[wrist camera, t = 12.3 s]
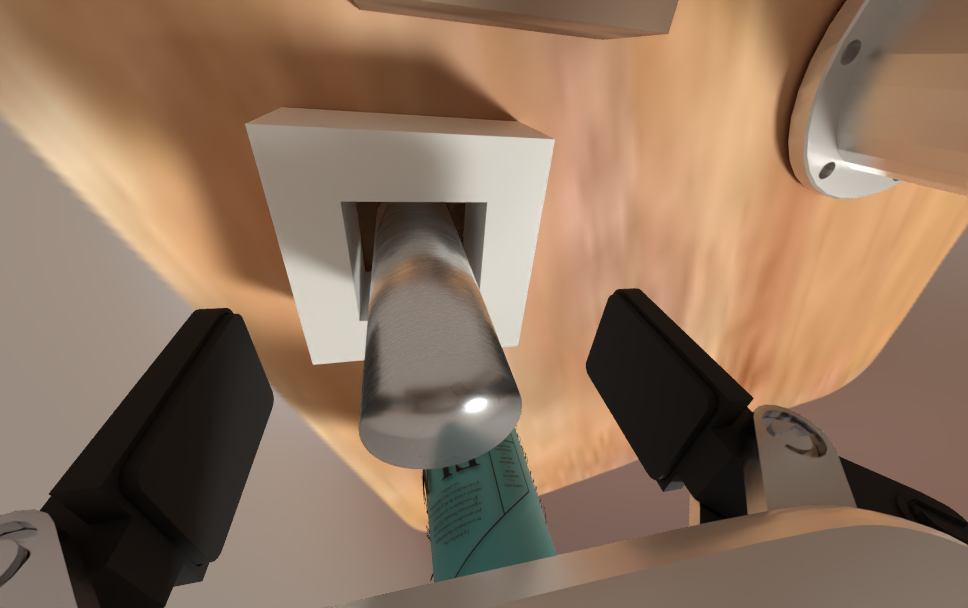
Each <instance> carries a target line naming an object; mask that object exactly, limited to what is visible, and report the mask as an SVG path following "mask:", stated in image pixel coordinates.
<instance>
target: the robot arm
mask: <svg viewBox="0 0 968 608" xmlns="http://www.w3.org/2000/svg"><path fill="white" fill-rule="evenodd" d="M788 146H789V158H790V163H791V166H792V169H793V172H794V174H795V177H796V178H797V179H798V180H799V181H800V183H801V184H802V185H803V186H804V187H805V188H807V189H809V190H811V191H813V192H815V193H818V194H821V195H825V196H828V197H832V198H835V199H856V198H860V197H865V196H870V195H872V194H875V193H878V192H880V191H883V190H885V189H888V188H890V187H893V186H895V185H896V184H898V183H900V182H902V181H905V182H910V183H914V184H918V185H922V186H926V187H931V188H935V189H939V190H943V191H947V192H952V193H956V194H960V195H964V196H968V0H846V1H845V3H844V4H843V6H842V7H841V9H840V10H839V12H838V13H837V15H836V16H835V18H834V19H833V21H832V22H831V24H830V25H829V27H828V29H827V31H826V33H825V35H824V37H823V38H822V40H821V42H820V44H819V46H818V48H817V50H816V51H815V53H814V55H813V57H812V59H811V61H810V64H809V66H808V68H807V71H806V73H805V76H804V78H803V81H802V83H801V86H800V88H799V91H798V94H797V98H796V101H795V105H794V109H793V112H792V116H791V122H790V131H789V139H788ZM586 370H587V373H588V375H589V377H590V379H591V380H592V382H593V384H594V385H595V387H596V389H597V390H598V392H599V394H600V395H601V397H602V399H603V400H604V402H605V404H606V405H607V407H608V409H609V410H610V412H611V414H612V415H613V417H614V419H615V420H616V422H617V424H618V425H619V427H620V429H621V430H622V432H623V434H624V435H625V437H626V439H627V440H628V442H629V444H630V445H631V447H632V449H633V450H634V452H635V454H636V455H637V457H638V459H639V460H640V462H641V464H642V465H643V467H644V469H645V470H646V472H647V473H648V475H649V476H650V477H651V478H652V479H654V480H656V481H657V482H658V484H659V486H660V487H661V489H662V491H663V492H665V491H671V490H675V489H681V488H682V487H683V486H684V485H685V486H686V487H687V489H688V490H689V492H690V520H689V527H685V528H681V529H676V530H671V531H667V532H662V533H658V534H653V535H648V536H644V537H639V538H635V539H630V540H626V541H621V542H616V543H611V544H607V545H602V546H598V547H593V548H589V549H584V550H580V551H575V552H571V553H566V554H561V555H557V556H552V557H548V558H543V559H539V560H534V561H530V562H525V563H521V564H516V565H512V566H507V567H503V568H498V569H494V570H489V571H485V572H480V573H476V574H471V575H467V576H462V577H458V578H453V579H449V580H444V581H440V582H435V583H431V584H426V585H422V586H418V587H414V588H409V589H405V590H400V591H396V592H392V593H387V594H382V595H378V596H374V597H369V598H365V599H360V600H356V601H351V602H347V603H343V604H339V605H334V606H329V607H325V608H968V522H967V521H966V520H965V519H964V518H963V517H962V516H960V515H959V514H958V513H957V512H955V511H954V510H953V509H951V508H950V507H948V506H946V505H945V504H943V503H941V502H939V501H937V500H935V499H933V498H931V497H929V496H927V495H925V494H923V493H921V492H919V491H917V490H915V489H912V488H910V487H908V486H905V485H903V484H901V483H899V482H896V481H894V480H892V479H890V478H887V477H885V476H883V475H880V474H878V473H876V472H873V471H871V470H869V469H867V468H864V467H862V466H860V465H858V464H855V463H853V462H851V461H848V460H846V459H844V458H841V457H839V456H838V454H837V451H836V448H835V447H834V445H833V443H832V441H831V440H830V439H829V437H828V436H827V435H826V434H825V433H824V432H823V431H822V430H821V429H820V428H819V427H817V426H816V425H815V424H814V423H813V422H811V421H810V420H808V419H806V418H805V417H803V416H801V415H800V414H798V413H796V412H794V411H791V410H789V409H787V408H784V407H780V406H776V405H762V406H758V407H757V408H756V409H755V410H754V412H752V411H751V410H750V409H749V408H748V407H747V406H748V405H749V404H750V402H751V401H752V400H753V399H754V398H753V397H752V396H751V395H750V394H749V393H748V392H747V391H746V390H745V389H744V388H742V387H741V386H740V385H739V384H738V383H737V382H736V381H735V380H734V379H733V378H732V377H731V376H730V375H729V374H728V373H727V372H726V371H725V370H724V369H723V368H722V367H721V366H719V365H718V364H717V363H716V362H715V361H714V360H713V359H712V358H711V357H710V356H709V355H708V354H707V353H706V352H705V351H704V350H703V349H702V348H701V347H700V346H699V345H698V344H697V343H695V342H694V341H693V340H692V339H691V338H690V337H689V336H688V335H687V334H686V333H685V332H684V331H683V330H682V329H681V328H680V327H679V326H678V325H677V324H676V323H675V322H674V321H673V320H671V319H670V318H669V317H668V316H667V315H666V314H665V313H664V312H663V311H662V310H661V309H660V308H659V307H658V306H657V305H656V304H655V303H654V302H653V301H652V300H651V299H650V298H648V297H647V296H646V295H645V294H644V293H643V292H642V291H641V290H640V289H636V288H633V289H618V290H616V291H615V292H614V294H613V295H611V296H610V297H609V298H608V301H607V304H606V307H605V309H604V312H603V315H602V318H601V321H600V324H599V327H598V330H597V333H596V335H595V338H594V341H593V344H592V347H591V350H590V353H589V356H588V359H587V361H586ZM273 401H274V397H273V392H272V389H271V387H270V384H269V382H268V379H267V377H266V374H265V372H264V370H263V367H262V365H261V362H260V360H259V357H258V355H257V352H256V350H255V347H254V345H253V342H252V340H251V337H250V335H249V332H248V330H247V328H246V325H245V323H244V320H243V318H242V316H241V315H240V314H234V313H233V312H232V311H231V310H230V309H228V308H216V309H199V310H195V311H194V312H193V313H192V314H191V316H190V317H189V318H188V320H187V321H186V322H185V323H184V324H183V326H182V327H181V328H180V329H179V331H178V332H177V333H176V335H175V336H174V337H173V338H172V340H171V341H170V342H169V343H168V345H167V346H166V347H165V348H164V350H163V351H162V352H161V353H160V355H159V356H158V357H157V358H156V360H155V361H154V362H153V363H152V365H151V366H150V367H149V368H148V370H147V371H146V372H145V373H144V375H143V376H142V377H141V378H140V380H139V381H138V382H137V384H136V385H135V386H134V387H133V389H132V390H131V391H130V392H129V394H128V395H127V396H126V397H125V399H124V400H123V401H122V403H121V404H120V405H119V406H118V407H117V409H116V410H115V411H114V412H113V414H112V415H111V416H110V417H109V419H108V420H107V421H106V422H105V424H104V425H103V426H102V428H101V429H100V430H99V431H98V433H97V434H96V435H95V437H94V438H93V439H92V440H91V441H90V443H89V444H88V445H87V446H86V448H85V449H84V450H83V451H82V453H81V454H80V455H79V457H78V458H77V459H76V460H75V461H74V463H73V464H72V465H71V467H70V468H69V469H68V470H67V472H66V473H65V474H64V475H63V477H62V478H61V479H60V480H59V482H58V483H57V484H56V485H55V487H54V488H53V489H52V490H51V492H50V493H49V495H51V497H50V498H49V499H48V501H47V502H46V503H45V505H44V506H43V507H42V508H41V510H40V511H38V510H35V509H34V510H21V511H14V512H10V513H7V514H3V515H0V608H164V607H165V605H166V603H167V600H168V598H169V596H170V593H171V591H172V589H173V587H175V586H180V585H185V584H190V583H195V582H200V581H203V578H204V575H205V573H206V570H207V567H208V565H209V562H213V561H215V560H216V559H217V558H218V556H219V555H220V553H221V551H222V548H223V546H224V543H225V540H226V537H227V534H228V532H229V529H230V526H231V523H232V520H233V517H234V515H235V512H236V509H237V506H238V503H239V500H240V498H241V495H242V492H243V489H244V486H245V484H246V481H247V478H248V475H249V472H250V469H251V467H252V464H253V461H254V458H255V455H256V452H257V450H258V447H259V444H260V441H261V438H262V436H263V433H264V430H265V427H266V424H267V421H268V418H269V416H270V413H271V410H272V407H273Z"/></svg>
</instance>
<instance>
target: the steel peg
mask: <svg viewBox="0 0 968 608" xmlns="http://www.w3.org/2000/svg"><path fill="white" fill-rule="evenodd" d="M521 409H522V401H521V396H520V393H519V390H518V388H517V385H516V383H515V380H514V378H513V375H512V372H511V370H510V367H509V365H508V362H507V359H506V357H505V354H504V352H503V349H502V347H501V344H500V341H499V339H498V336H497V334H496V331H495V329H494V326H493V323H492V321H491V318H490V316H489V313H488V310H487V308H486V305H485V303H484V300H483V298H482V295H481V292H480V290H479V287H478V285H477V282H476V280H475V277H474V274H473V272H472V269H471V267H470V264H469V261H468V259H467V256H466V254H465V251H464V249H463V246H462V243H461V241H460V238H459V236H458V233H457V231H456V228H455V225H454V223H453V220H452V218H451V215H450V212H449V210H448V208H447V206H446V204H445V203H444V202H381V204H380V206H379V208H378V211H377V216H376V227H375V239H374V251H373V263H372V275H371V287H370V299H369V311H368V323H367V335H366V346H365V358H364V370H363V382H362V394H361V406H360V418H359V435H360V438H361V441H362V443H363V445H364V446H365V448H366V449H367V450H368V451H369V452H370V453H371V454H372V455H373V456H375V457H376V458H378V459H380V460H381V461H383V462H386V463H388V464H391V465H394V466H398V467H403V468H410V469H436V468H443V467H448V466H453V465H457V464H460V463H463V462H466V461H469V460H472V459H474V458H476V457H479V456H480V455H482V454H484V453H486V452H488V451H489V450H491V449H493V448H494V447H495V446H497V445H498V444H499V443H501V442H502V441H503V440H504V439H505V438H506V437H507V436H508V435H509V434H510V433H511V432H512V430H513V429H514V427H515V426H516V424H517V422H518V420H519V418H520V414H521Z"/></svg>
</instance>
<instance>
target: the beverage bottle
mask: <svg viewBox="0 0 968 608" xmlns="http://www.w3.org/2000/svg"><path fill="white" fill-rule="evenodd" d="M517 434H518V433H516V430H515V427H514V429H513V430H512V432H511V433H510V434H509V435H508V436H507V437H506V438H505V439H504V440H503V441H502V442H501V443H499V444H498V445H497V446H495V447H494V448H493V449H491V450H489V451H488V452H486V453H484V454H482V455H480V456H479V457H476V458H474V459H472V460H469V461H466V462H463V463H460V464H457V465H453V466H448V467H443V468H436V469H423V477H422V480H423V494H424V495H425V492H424V482H425V488H426V496H427V504H426V507H428V510H427V511H426V512H427V514H428V518H429V523H428V524H429V529H427V531H428V530H429V532H430V533H429V534H430V537H429V538H430V542H431V552H432V564H433V574H432V577H433V575H434V583H435V582H440V581H444V580H449V579H453V578H458V577H462V576H467V575H471V574H476V573H480V572H485V571H489V570H494V569H498V568H503V567H507V566H512V565H516V564H521V563H525V562H530V561H534V560H539V559H543V558H548V557H552V556H557V555H556V552H555V549H554V546H553V543H552V540H551V537H550V534H549V531H548V528H547V525H546V522H545V519H544V516H543V512H542V507H541V505H540V502H539V499H538V496H537V493H536V489H537V488H535V487H534V484H533V482H534V479H535V478H534V479H533V481H532V477H531V475H530V474H531V471H530V472H529V469H528V466H527V463H526V460H525V459H526V456H525V457H524V454H523V453H524V452H523V451H522V450H523V448H522V445H520V442H519V439H518V437H519V436H518V435H517ZM525 455H526V453H525ZM425 501H426V498H425ZM424 504H425V502H424ZM426 527H427V526H426ZM427 537H428V535H427ZM432 577H431V579H432Z"/></svg>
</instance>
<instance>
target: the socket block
mask: <svg viewBox="0 0 968 608" xmlns="http://www.w3.org/2000/svg"><path fill="white" fill-rule="evenodd" d="M353 1H354V3H355V4H356V6H357V7H358V9H359V10H367V11H376V12H384V13H392V14H400V15H408V16H416V17H424V18H432V19H440V20H448V21H456V22H464V23H472V24H480V25H488V26H496V27H504V28H512V29H520V30H528V31H537V32H545V33H553V34H561V35H569V36H577V37H585V38H593V39H601V40H604V39H615V38H627V37H638V36H649V35H661V34H668V33H669V29H670V26H671V23H672V20H673V16H674V13H675V10H676V6H677V3H678V0H353Z"/></svg>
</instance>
